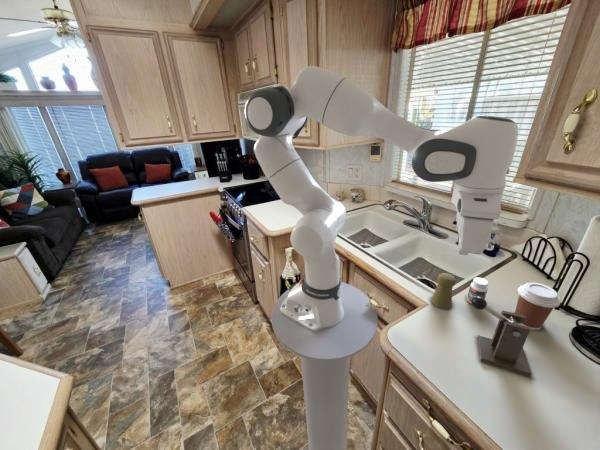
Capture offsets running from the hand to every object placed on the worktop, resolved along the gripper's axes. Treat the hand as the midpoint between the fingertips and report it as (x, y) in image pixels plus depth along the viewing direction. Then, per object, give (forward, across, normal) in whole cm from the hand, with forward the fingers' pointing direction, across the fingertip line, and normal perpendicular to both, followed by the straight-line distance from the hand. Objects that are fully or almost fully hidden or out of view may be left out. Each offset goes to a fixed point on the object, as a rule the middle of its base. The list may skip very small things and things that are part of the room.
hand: (462, 251), depth 59 cm
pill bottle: (+29, -21, +10) cm, 37 cm away
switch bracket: (+29, 0, +14) cm, 32 cm away
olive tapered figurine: (+29, -16, 0) cm, 33 cm away
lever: (+17, 0, +9) cm, 20 cm away
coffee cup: (+29, -17, +23) cm, 41 cm away
